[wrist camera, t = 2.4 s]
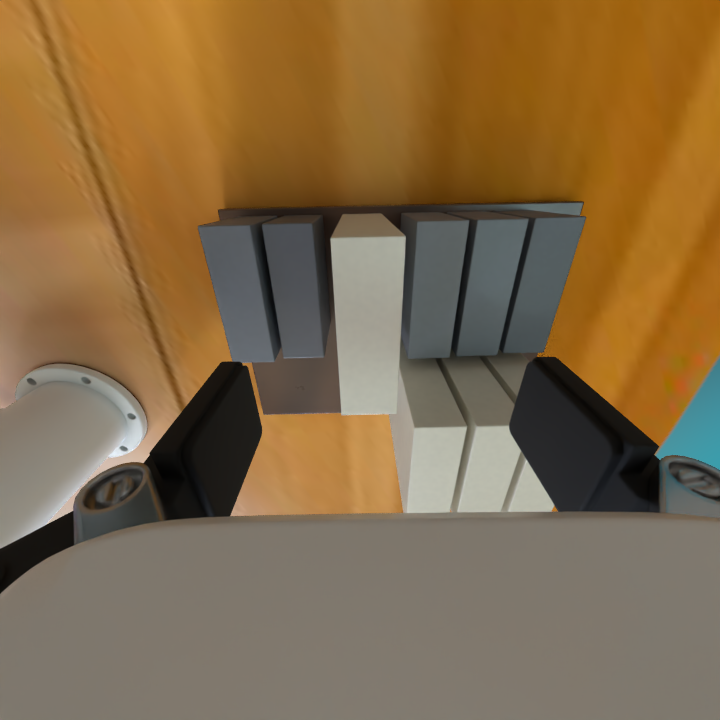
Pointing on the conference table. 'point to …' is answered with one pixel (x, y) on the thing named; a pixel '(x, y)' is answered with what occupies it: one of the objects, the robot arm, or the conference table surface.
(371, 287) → the ivory book
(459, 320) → the grey books
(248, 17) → the conference table surface
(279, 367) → the shelf board
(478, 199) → the conference table surface
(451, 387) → the ivory books
